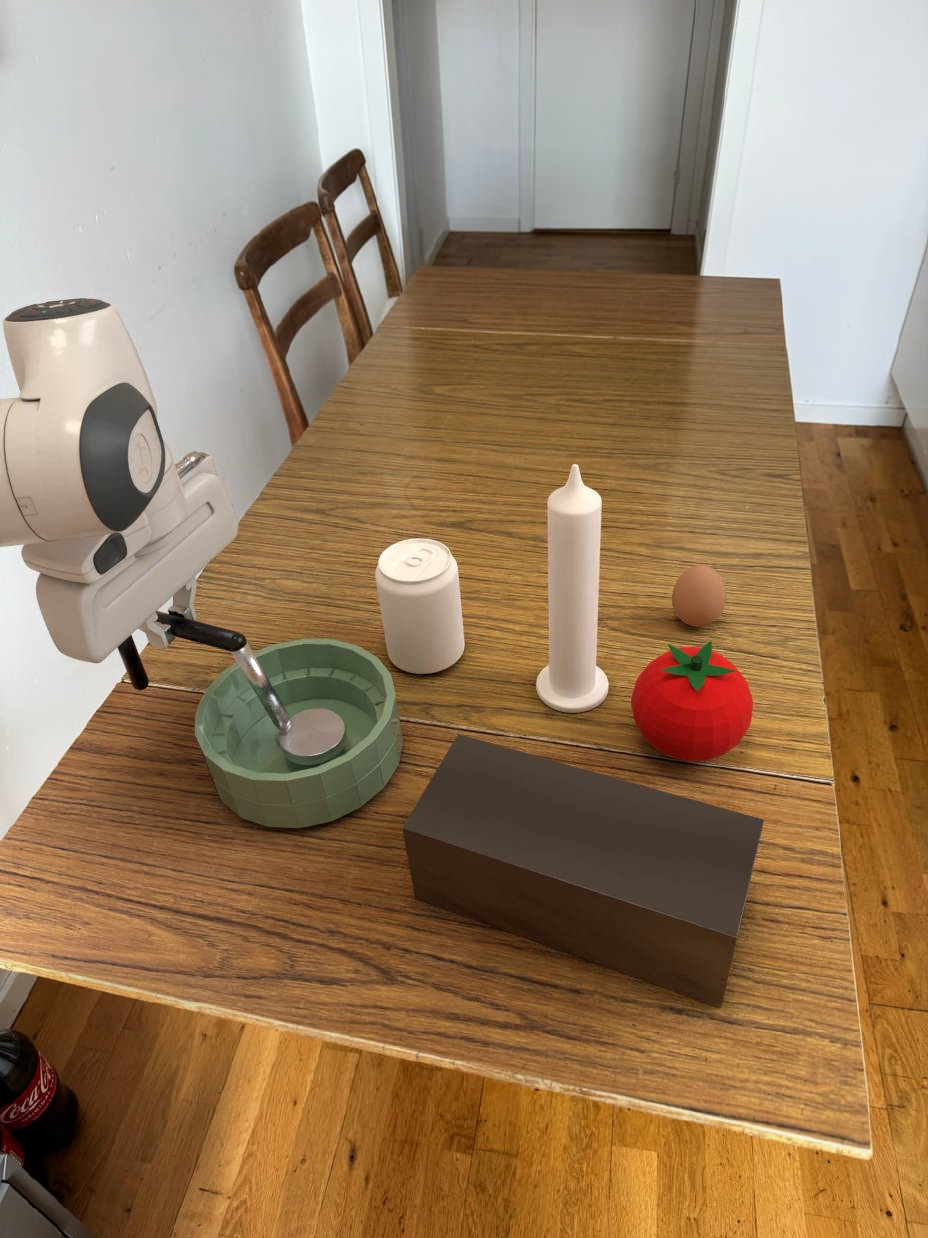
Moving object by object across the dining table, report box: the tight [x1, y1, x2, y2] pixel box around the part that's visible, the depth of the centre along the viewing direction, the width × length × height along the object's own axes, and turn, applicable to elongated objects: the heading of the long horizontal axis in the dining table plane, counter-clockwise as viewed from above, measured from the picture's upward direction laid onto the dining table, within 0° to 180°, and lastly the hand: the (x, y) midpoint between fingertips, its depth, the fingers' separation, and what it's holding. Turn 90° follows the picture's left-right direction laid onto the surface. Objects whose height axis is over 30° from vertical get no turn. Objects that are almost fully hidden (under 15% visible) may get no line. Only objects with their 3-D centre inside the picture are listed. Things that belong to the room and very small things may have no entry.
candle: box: [535, 463, 610, 714], centre depth 80 cm, size 7×7×25 cm
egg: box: [671, 564, 727, 628], centre depth 92 cm, size 5×5×7 cm
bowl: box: [194, 638, 404, 829], centre depth 81 cm, size 18×18×7 cm
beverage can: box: [374, 537, 466, 675], centre depth 90 cm, size 8×8×12 cm
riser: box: [401, 733, 765, 1009], centre depth 67 cm, size 10×24×9 cm, turn 66°
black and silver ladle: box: [116, 610, 347, 765], centre depth 81 cm, size 24×6×11 cm, turn 66°
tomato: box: [630, 640, 754, 762], centre depth 78 cm, size 10×10×10 cm
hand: (174, 632), depth 80 cm, fingers closed on black and silver ladle
